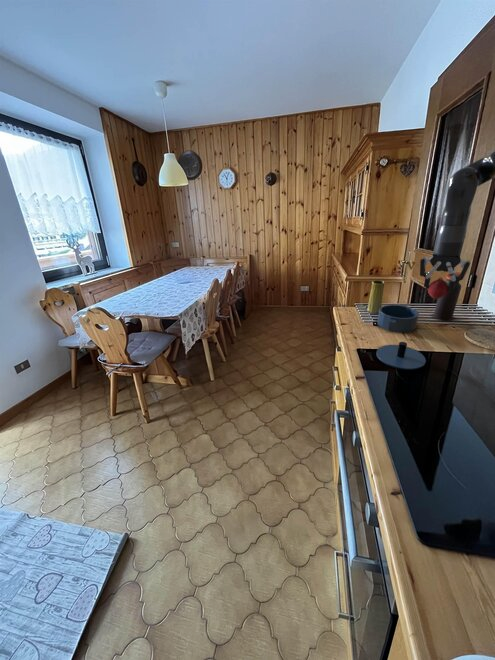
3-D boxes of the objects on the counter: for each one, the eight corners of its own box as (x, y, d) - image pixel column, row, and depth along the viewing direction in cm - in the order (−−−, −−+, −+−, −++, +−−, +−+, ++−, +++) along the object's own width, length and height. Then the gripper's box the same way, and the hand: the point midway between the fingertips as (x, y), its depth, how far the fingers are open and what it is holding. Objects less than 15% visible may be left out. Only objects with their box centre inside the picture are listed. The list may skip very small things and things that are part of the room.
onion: (449, 301, 96) (455, 279, 92) (431, 302, 96) (436, 280, 93) (439, 295, 101) (444, 274, 97) (422, 296, 101) (427, 275, 98)
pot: (419, 320, 123) (422, 306, 120) (409, 339, 109) (413, 324, 106) (384, 313, 131) (386, 300, 128) (371, 330, 117) (373, 316, 114)
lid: (428, 354, 99) (432, 339, 96) (420, 376, 89) (425, 360, 86) (382, 343, 108) (385, 329, 105) (370, 362, 97) (373, 347, 94)
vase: (378, 308, 137) (383, 279, 130) (382, 313, 131) (387, 283, 125) (365, 308, 138) (369, 280, 131) (369, 313, 132) (373, 284, 126)
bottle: (434, 313, 128) (446, 270, 119) (452, 317, 124) (466, 272, 115) (432, 319, 123) (443, 274, 114) (450, 322, 119) (464, 276, 110)
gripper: (421, 240, 91) (412, 290, 99) (477, 242, 83) (462, 296, 90) (426, 236, 96) (416, 283, 104) (479, 238, 88) (464, 289, 95)
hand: (437, 289), depth 97 cm, fingers closed on onion, 6 cm apart
